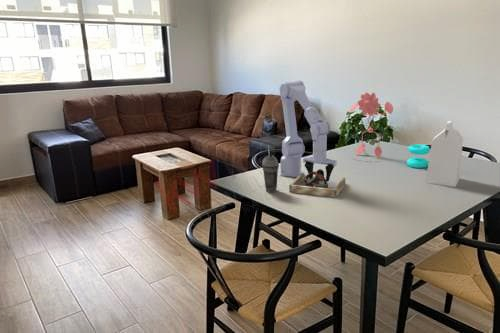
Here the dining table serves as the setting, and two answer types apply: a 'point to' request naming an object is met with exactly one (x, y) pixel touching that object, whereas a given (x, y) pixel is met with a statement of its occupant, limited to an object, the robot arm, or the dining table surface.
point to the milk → (445, 157)
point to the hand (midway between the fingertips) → (319, 179)
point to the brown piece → (316, 178)
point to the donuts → (417, 161)
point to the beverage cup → (270, 172)
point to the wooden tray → (315, 188)
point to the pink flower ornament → (370, 106)
